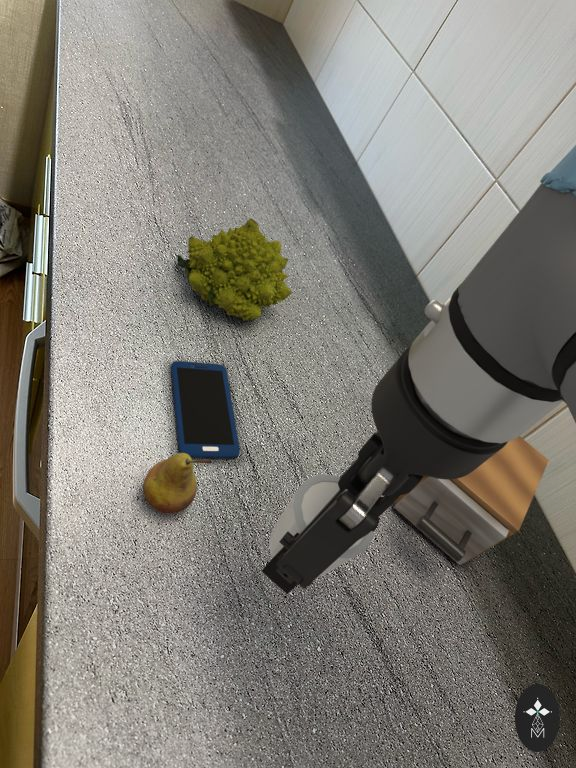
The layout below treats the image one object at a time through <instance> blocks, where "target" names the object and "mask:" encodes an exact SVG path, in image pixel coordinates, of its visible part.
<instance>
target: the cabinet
mask: <svg viewBox="0 0 576 768" xmlns="http://www.w3.org/2000/svg"><path fill="white" fill-rule="evenodd" d="M549 461H550V460H549V458H547V457H546V456H545V455H543V454H542V453H541V452H540V451H539V450H538V449H536V448H535V447H534V446H532V445H531V444H530V443H529V442H528V441H526V439H524V438H523V437H522V436H521V435H520V436H519V437H518V438H517V439H514V440H511V441H508V443H507V444H506V445H505V446H504V447H503V448H502V449H501V450H499V451H498V452H497V453H496V454H494V455H493V456H492V457H490V458H489V459H488V460H487V461H485V462H484V463H483V464H482V465H480V466H479V467H478V468H477V469H475V470H474V471H473V472H471V473H470V474H468V475H466V476H464V477H461V478H457V479H451V480H452V481H453V482H454V483H455V484H456V485H458V486H459V487H460V488H461V489H462V490H463V491H465V492H466V493H467V494H468V495H469V496H470V497H472V498H473V499H474V500H475V501H476V502H477V503H479V504H480V505H481V506H482V507H483V508H484V509H486V510H487V511H488V512H489V513H490V514H491V515H493V516H494V517H495V518H496V519H497V520H498V521H500V523H501V524H502V525H503V526H504V527H505V528H506V529H508V530H509V532H508V534H507V536H506V538H504V539H503V540H501V541H499V542H498V543H496V544H495V545H493V546H491V547H490V548H488V549H486V550H485V551H483V552H481V553H480V554H478V555H476V556H475V557H473V558H471V559H470V560H468V561H466V562H465V563H463V564H462V565H464V564H467V563H469V561H471V560H473V559H475V558H476V557H478V556H480V555H481V554H483V553H485V552H487V551H488V550H490V549H492V548H493V547H494V546H496V545H498V544H500V543H501V542H503V541H504V540H506V539H508V538H509V537H511V536H513V535H514V534H516V533H518V532H520V530H521V527H522V524H523V522H524V520H525V517H526V515H527V513H528V510H529V508H530V506H531V503H532V501H533V499H534V496H535V494H536V492H537V489H538V487H539V484H540V482H541V480H542V478H543V475H544V473H545V472H546V471H545V470H546V468H547V466H548V463H549ZM426 477H427V476H424V477H423V478H422V479H421V481H422V480H423V479H424V478H426ZM421 481H420V482H421ZM420 482H419V483H420ZM419 483H418V484H419ZM405 495H406V494H404V495H401V496H399V497H398V498H397V499H396V500H395V501H394V502H393V504H392V505H394V506H395V505H396V503H397V502H398V501H399V500H400V499H401V498H402V497H403V496H405Z"/></svg>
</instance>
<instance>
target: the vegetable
mask: <svg viewBox="0 0 576 768" xmlns="http://www.w3.org/2000/svg"><path fill="white" fill-rule="evenodd" d="M187 245H188V246H187V247H188V248H187V249H188V250H187V253H188V256H187V259H185V258H183V257H182V256H181V254H176V257H177V259H176V260H177V261H176V262H177V264H176V265H177V266H178V267H180V268H181V269H184V271H185V275H186V277H188V279H187V280H188V283H189V285H190V286H191V290H192V291H195V292H197V293H198V294H199V295H200V298H201V301H205V302H207V303H208V304H209V306H210V307H212V306H214V305H218V308H219V309H221V308H222V309H223V311H226V315H227V316H234V317H236V318H241V319H242V321H243V322H245V321H248V322H250V321H253V320H254V321H255V320H256V319H258V318H259V317H261V316H262V314H261V313H262V311H263V306H264V308H270V307H271V306H272V305H273V306H276V305H277V304H278V302H279V303H282V301H286V299H287V298H288V297H289V296H290V295H291V294H292V293H293V291H292V290H291V289H290V288H289V286H287V284H286V281H284V280H286V279H287V278H288V277H289V275H288V274H286V273H285V272H284V271H283V270H284V269H286V266H287V264H288V262H289V258H286V257H284V256H282V255H281V254H282V253H281V250H282V243H281V242H280V241H279V240H272V241H269V240H268V237H266V235H264V234H263V232H261V231H260V228H259V223H258V222H256V220H254V219H253V218H252V217H250V218H249V219H248V220H247V221H246V222H245V223H244V224H243V225H241V226H240V227H234V229H233V228H229V229H228V231H227V232H225V231H224V230H223V228H221V229H220V231H219V233H218V234H217V235H216V234H212V236H211V239H209V240H208V241H206V240H201V239H199V238H196V237H195V236H193V235H191V236H189V237H188V243H187Z"/></svg>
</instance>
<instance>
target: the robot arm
mask: <svg viewBox="0 0 576 768" xmlns="http://www.w3.org/2000/svg"><path fill="white" fill-rule="evenodd" d="M539 183H540V184H539V185H538V187H537V188H536V190H535V191H534V192H533V193H532V195H531V196H530V198H529V199H528V200H527V201H526V202H525V204H524V205H523V206H522V208H521V209H520V210H519V211H518V213H517V214H516V215H515V216H514V218H513V219H512V220H511V221H510V222H509V224H508V225H507V226H506V227H505V228H504V230H503V231H502V232H501V233H500V235H499V236H498V237H497V239H495V241H494V242H493V243H492V245H490V247H489V248H488V250H487V251H486V252H485V254H483V256H482V257H481V258H480V259H479V261H478V262H477V263H476V264H475V266H474V267H472V269H471V271H470V272H469V273H468V275H467V276H466V277H465V278H464V279H463V281H462V282H461V283H460V284H459V285H458V286H457V287H456V289H455V290H454V291H453V292H452V295H451V296H450V297H449V298H448V300H447V301H446V302H445V303H444V304H443V303H442V302H440V301H439V300H438V299H434V300H431V301H430V302H428V304H427V305H426V306H425V308H424V314H425V316H426V317H427V318H428V319H429V320H430V322H429V323H428V324H427V325H426V326H425V327H424V328H423V329H422V331H420V333H419V334H418V335H417V337H415V339H414V340H413V342H412V343H411V346H410V347H408V348H407V349H405V350H404V351H403V352H402V353H401V355H400V356H399V357H398V358H397V359H396V360H395V362H394V363H393V364H392V365H391V367H389V369H388V370H387V371H386V373H385V374H384V375H383V377H381V379H380V380H379V381H378V383H377V384H376V386H375V387H374V390H373V393H372V398H371V403H370V405H371V406H370V407H371V416H372V419H373V423H374V425H375V428H376V430H377V431H375V432H374V433H373V434H371V436H370V437H369V438H368V439H367V440H366V442H365V443H364V444H363V445H362V447H361V448H360V449H359V451H358V455H357V458H356V459H354V460H353V461H352V462H351V463H350V465H349V467H348V468H347V469H346V470H345V471H344V472H343V473H342V474H341V475H340V476H338V477H339V478H340V480H339V481H338V486H339V489H340V490H339V491H338V492H337V493H336V494H335V495H334V496H333V497H332V499H331V500H330V501H329V502H328V503H327V504H326V505H325V506H324V507H323V509H322V510H321V511H320V512H319V513H318V514H317V515H316V516H315V517H314V519H313V520H312V521H311V522H310V523H309V524H308V525H307V526H306V528H305V529H304V530H303V531H302V532H301V533H300V534H299V533H296V534H295V535H294V536H293V535H292V534H291V533H290V532H287V533H286V534H285V535H284V536H283V537H282V539H281V540H280V541H279V542H280V543H281V544H282V545H283V546H284V547H283V548H282V549H281V550H280V551H279V552H278V553H277V554H276V555H275V556H274V557H273V558H272V557H271V559H270V560H269V561H268V562H267V564H265V565H264V567H262V569H261V572H262V573H263V574H264V575H265V577H267V578H268V579H270V580H271V581H272V583H274V584H275V585H276V586H277V587H278V588H279V589H280V590H281V591H282V592H284V594H286V595H288V594H289V593H291V591H293V590H294V589H295V588H296V587H297V586H299V587H301V588H302V589H303V590H306V589H307V588H308V587H311V585H312V584H313V583H314V581H315V580H317V579H318V578H317V577H318V576H319V575H320V574H321V573H323V572H324V571H325V570H326V569H327V568H328V567H329V566H330V565H331V564H332V563H334V562H335V561H336V560H337V559H338V558H339V557H340V556H341V555H342V554H343V553H345V552H346V551H347V550H348V549H349V548H350V547H351V546H352V545H353V544H355V543H356V542H357V541H358V540H360V539H361V538H363V537H364V536H366V535H368V534H369V533H370V532H371V531H372V532H373V531H374V532H375V530H377V529H378V527H379V524H380V523H381V522H380V520H381V518H380V517H381V516H382V515H383V514H384V513H385V512H386V511H387V510H388V509H389V508H390V507H391V506H392V505H394V504H393V502H394V501H395V500H396V499H397V498H398V497H399V496H401V495H404V494H408V493H409V492H410V491H411V490H412V489H413V488H414V487H415V486H416V485H417V484H418V483H419V482H420V481H421V479H422V478H423V477H424V476H428V477H433V478H437V479H457V478H461V477H464V476H466V475H468V474H470V473H471V472H473V471H474V470H475V469H477V468H478V467H479V466H480V465H482V464H483V463H484V462H485V461H487V460H488V459H489V458H490V457H492V456H493V455H494V454H496V453H497V452H498V451H499V450H501V449H502V448H503V447H504V446H505V445H506V444H507V443H508V441H511V440H514V439H517V438H518V437H519V436H520V437H521V436H522V435H523V434H524V433H526V432H527V431H529V430H530V428H532V427H533V426H534V425H536V424H537V423H538V422H540V421H541V420H542V419H543V418H544V417H546V416H547V415H548V414H549V413H551V412H552V411H553V410H554V409H556V408H557V407H558V406H560V405H561V404H562V403H563V402H564V403H565V404H566V406H567V408H568V410H569V412H570V415H571V417H572V418H573V420H574V423H575V424H576V144H575V145H574V146H573V147H572V148H571V150H570V151H569V152H568V153H567V154H566V155H565V156H564V157H563V158H562V159H561V160H560V161H559V162H558V163H557V165H555V166H554V167H553V168H552V170H551V171H549V172H546V173H545V174H544V175H543V176H542V177H541V179H540V181H539ZM316 578H317V579H316Z"/></svg>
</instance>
